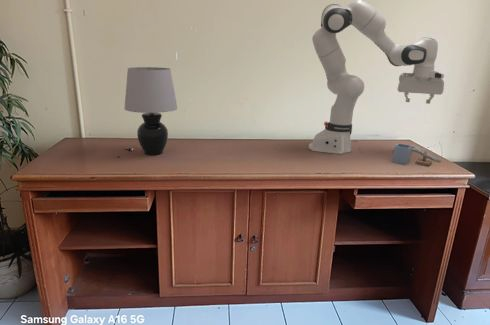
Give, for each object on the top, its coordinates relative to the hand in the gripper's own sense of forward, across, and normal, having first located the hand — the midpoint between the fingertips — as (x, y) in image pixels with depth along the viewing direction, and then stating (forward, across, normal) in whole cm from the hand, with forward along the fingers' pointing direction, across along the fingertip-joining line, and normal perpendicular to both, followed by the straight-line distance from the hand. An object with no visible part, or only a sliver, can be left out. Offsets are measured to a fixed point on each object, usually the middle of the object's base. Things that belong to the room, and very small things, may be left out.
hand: (417, 102), depth 174 cm
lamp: (+31, -124, -30) cm, 131 cm away
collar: (+28, -6, -12) cm, 31 cm away
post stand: (+28, +4, -12) cm, 30 cm away
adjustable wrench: (+27, +8, +5) cm, 29 cm away
